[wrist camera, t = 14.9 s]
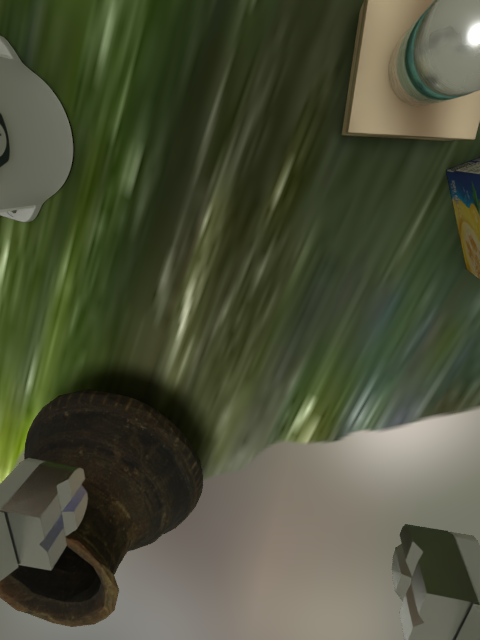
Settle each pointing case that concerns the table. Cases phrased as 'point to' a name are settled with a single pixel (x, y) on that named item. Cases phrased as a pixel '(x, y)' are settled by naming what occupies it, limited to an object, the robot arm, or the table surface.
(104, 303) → the table surface
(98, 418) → the ceramic pot
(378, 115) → the oak block
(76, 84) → the table surface
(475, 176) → the beverage box
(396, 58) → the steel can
